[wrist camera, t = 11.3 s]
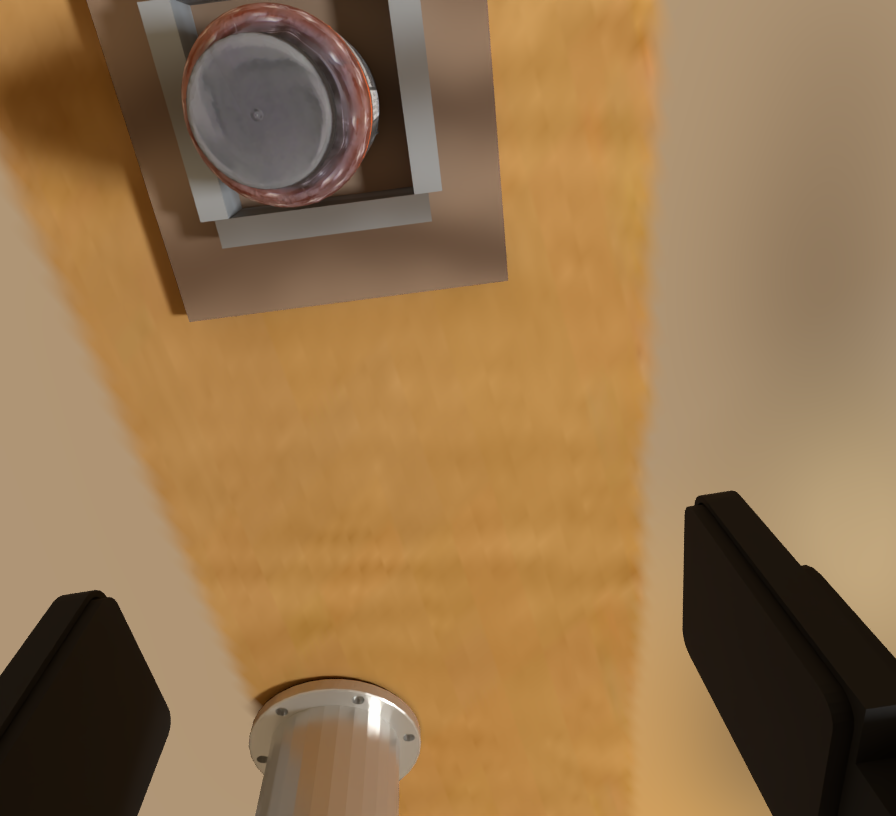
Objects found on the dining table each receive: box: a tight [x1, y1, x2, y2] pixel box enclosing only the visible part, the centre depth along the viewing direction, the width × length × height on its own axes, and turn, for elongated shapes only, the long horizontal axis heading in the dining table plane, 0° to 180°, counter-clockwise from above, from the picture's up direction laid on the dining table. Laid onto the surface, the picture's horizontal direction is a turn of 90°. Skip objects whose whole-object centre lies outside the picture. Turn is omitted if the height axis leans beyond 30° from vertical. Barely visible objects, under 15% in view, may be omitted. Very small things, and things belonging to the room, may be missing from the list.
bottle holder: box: [86, 0, 508, 322], centre depth 27 cm, size 18×16×4 cm
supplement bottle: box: [181, 2, 379, 208], centre depth 22 cm, size 6×6×11 cm
